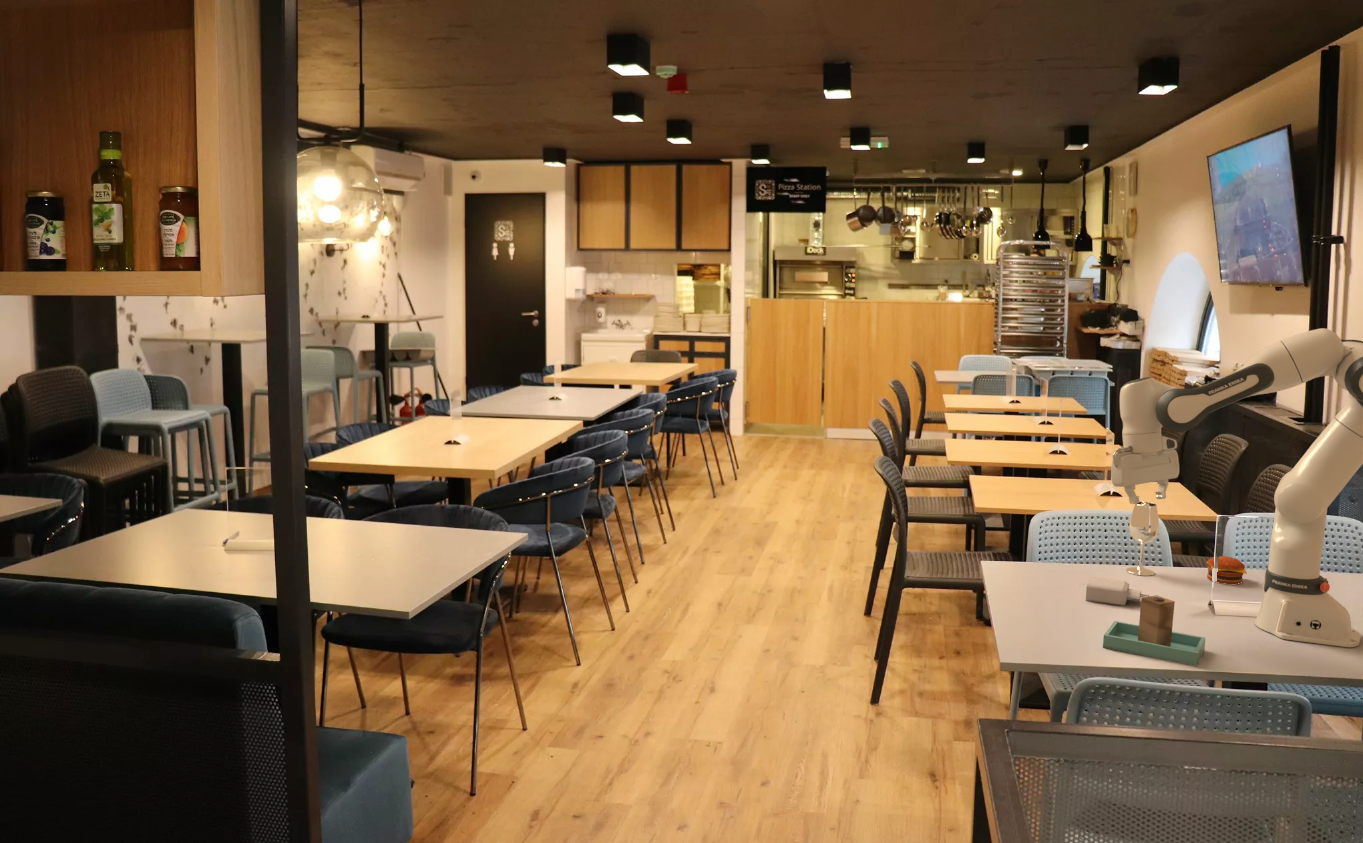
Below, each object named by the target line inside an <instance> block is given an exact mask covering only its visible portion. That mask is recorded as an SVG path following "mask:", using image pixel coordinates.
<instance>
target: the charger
mask: <svg viewBox="0 0 1363 843" xmlns="http://www.w3.org/2000/svg"><path fill="white" fill-rule="evenodd" d="M1150 596H1151V595H1149V594H1143V593H1142V590H1139V589H1131V588H1130V583H1128V582H1127V581H1125V580H1116V579H1112V578H1111V579H1110V578H1104V577H1097V576H1090V577H1089V580H1088V581H1087V582H1086V590H1085V601H1088V602H1094V603H1101V604H1106V605H1107V604H1109V605H1115V606H1125V605H1126V604H1127V601H1134V602H1141V598H1144V597H1150Z"/></svg>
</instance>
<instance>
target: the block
mask: <svg viewBox="0 0 1363 843" xmlns="http://www.w3.org/2000/svg"><path fill="white" fill-rule="evenodd" d="M1175 604H1176V602H1175V601H1174V600H1171V599H1168V598H1165V597H1162V596H1159V595H1157V594H1156V595H1155V594H1154V595H1152V596H1151V595H1150V596H1149V597H1148V596H1146V597H1144V598H1142V597H1141V598H1140V611H1139V622H1138V625H1139V632H1138V641H1143V642H1148V643H1153V644H1158V645H1164V646H1169V647H1171V636H1172V632H1173V624H1174V615H1175V612H1174V611H1175Z"/></svg>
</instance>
